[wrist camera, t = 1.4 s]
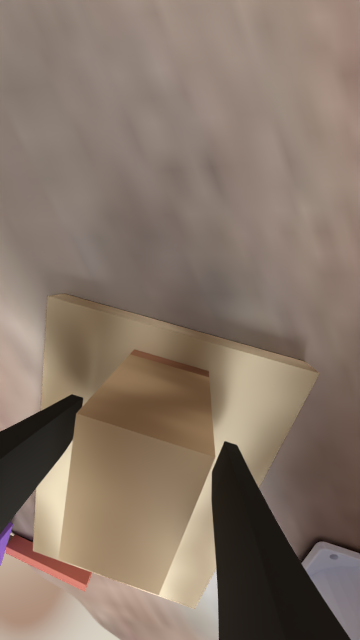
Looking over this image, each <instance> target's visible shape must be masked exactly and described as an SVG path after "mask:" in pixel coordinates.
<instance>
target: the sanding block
mask: <svg viewBox="0 0 360 640" xmlns="http://www.w3.org/2000/svg"><path fill="white" fill-rule="evenodd" d="M214 459H215V446H214V433H213V420H212V407H211V394H210V380H209V371H207V370H203V369H200V368H197V367H193V366H190V365H186V364H183V363H179V362H176V361H173V360H169V359H166V358H162V357H159V356H156V355H152V354H149V353H145V352H142V351H138V350H135V349H134V350H133V351H132V352H131V353H130V355H129V356H128V357H127V358H126V359H125V360H124V361H123V362H122V363H121V364H120V366H119V367H118V368H117V369H116V370H115V371H114V372H113V373H112V374H111V376H110V377H109V378H108V379H107V380H106V381H105V382H104V383H103V384H102V385H101V387H100V388H99V389H98V390H97V391H96V392H95V393H94V394H93V395H92V397H91V398H90V399H89V400H88V401H87V402H86V403H85V404H84V405H83V406H82V408H81V409H80V410H79V411H78V412H77V413H76V420H75V428H74V436H73V444H72V452H71V460H70V469H69V477H68V485H67V493H66V501H65V509H64V518H63V526H62V534H61V542H60V550H59V558H58V560H61V561H64V562H67V563H70V564H72V565H75V566H78V567H81V568H84V569H86V570H89V571H92V572H95V573H98V574H100V575H103V576H106V577H109V578H111V579H114V580H117V581H120V582H123V583H125V584H128V585H131V586H134V587H137V588H139V589H142V590H145V591H148V592H151V593H153V594H156V595H159V593H160V591H161V588H162V586H163V584H164V581H165V579H166V576H167V574H168V571H169V569H170V567H171V564H172V562H173V559H174V557H175V554H176V552H177V549H178V547H179V545H180V542H181V540H182V537H183V535H184V532H185V530H186V528H187V525H188V523H189V520H190V518H191V515H192V513H193V510H194V508H195V506H196V503H197V501H198V498H199V496H200V493H201V491H202V489H203V486H204V484H205V481H206V479H207V476H208V474H209V472H210V469H211V467H212V464H213V462H214Z"/></svg>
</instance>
